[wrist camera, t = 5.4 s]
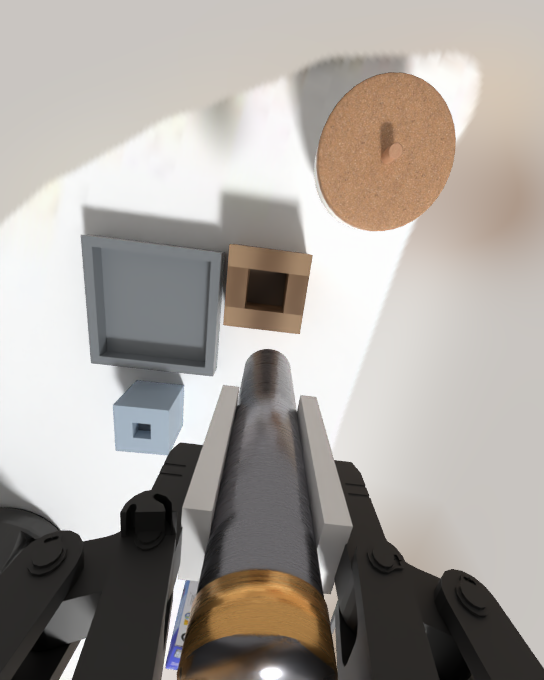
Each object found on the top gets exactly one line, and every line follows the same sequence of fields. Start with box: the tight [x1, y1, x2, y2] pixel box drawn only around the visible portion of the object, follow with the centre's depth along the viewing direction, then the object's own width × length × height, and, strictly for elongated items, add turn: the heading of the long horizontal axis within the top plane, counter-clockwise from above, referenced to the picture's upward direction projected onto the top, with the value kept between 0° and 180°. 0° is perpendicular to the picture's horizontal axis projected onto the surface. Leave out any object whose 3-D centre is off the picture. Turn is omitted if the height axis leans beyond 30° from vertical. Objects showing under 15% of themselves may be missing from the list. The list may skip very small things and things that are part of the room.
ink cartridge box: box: [166, 580, 199, 670], centre depth 41 cm, size 10×6×14 cm, turn 70°
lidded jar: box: [314, 73, 456, 231], centre depth 25 cm, size 11×11×9 cm
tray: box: [81, 235, 225, 376], centre depth 32 cm, size 14×14×2 cm
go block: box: [223, 244, 313, 334], centre depth 31 cm, size 8×8×4 cm
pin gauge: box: [177, 349, 338, 680], centre depth 12 cm, size 3×3×14 cm
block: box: [113, 380, 184, 455], centre depth 35 cm, size 6×6×6 cm
